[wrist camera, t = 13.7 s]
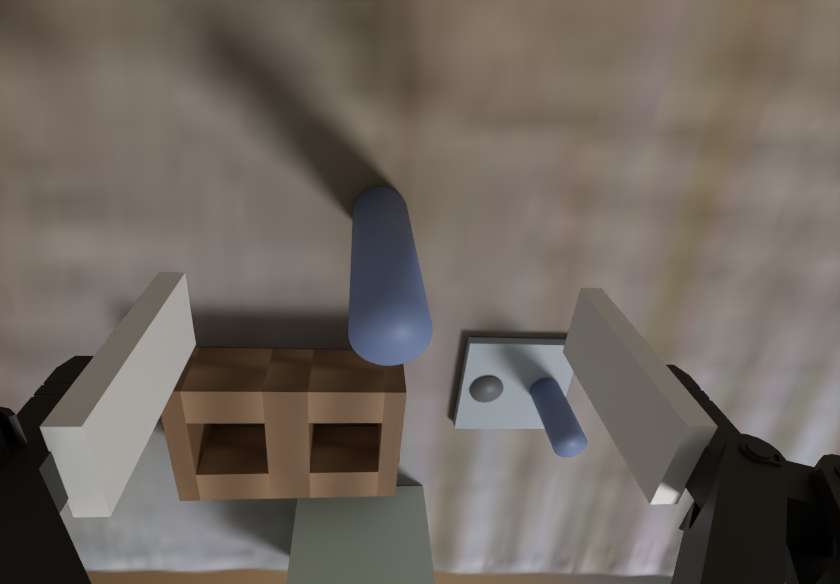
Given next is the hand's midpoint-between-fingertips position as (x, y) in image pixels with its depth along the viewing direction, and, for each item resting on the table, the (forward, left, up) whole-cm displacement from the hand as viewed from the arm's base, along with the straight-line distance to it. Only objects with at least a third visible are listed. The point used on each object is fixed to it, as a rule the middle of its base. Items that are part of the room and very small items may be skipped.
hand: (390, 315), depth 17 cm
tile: (+2, +13, -9) cm, 16 cm away
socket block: (+12, +5, -9) cm, 15 cm away
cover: (+18, +16, -9) cm, 25 cm away
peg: (0, 0, -9) cm, 9 cm away
